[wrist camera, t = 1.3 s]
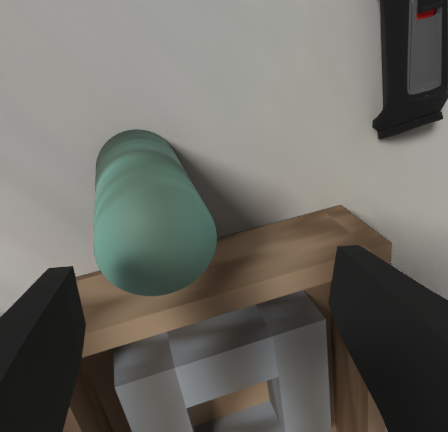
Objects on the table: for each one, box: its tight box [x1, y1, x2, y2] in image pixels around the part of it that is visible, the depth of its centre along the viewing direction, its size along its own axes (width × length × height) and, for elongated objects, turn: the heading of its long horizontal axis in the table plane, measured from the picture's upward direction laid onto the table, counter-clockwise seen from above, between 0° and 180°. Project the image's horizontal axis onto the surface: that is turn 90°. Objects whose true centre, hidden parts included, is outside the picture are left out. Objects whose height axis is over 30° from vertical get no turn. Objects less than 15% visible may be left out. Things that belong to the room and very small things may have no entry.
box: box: [63, 205, 392, 432], centre depth 26 cm, size 18×22×5 cm
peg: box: [93, 130, 217, 296], centre depth 17 cm, size 4×4×8 cm
